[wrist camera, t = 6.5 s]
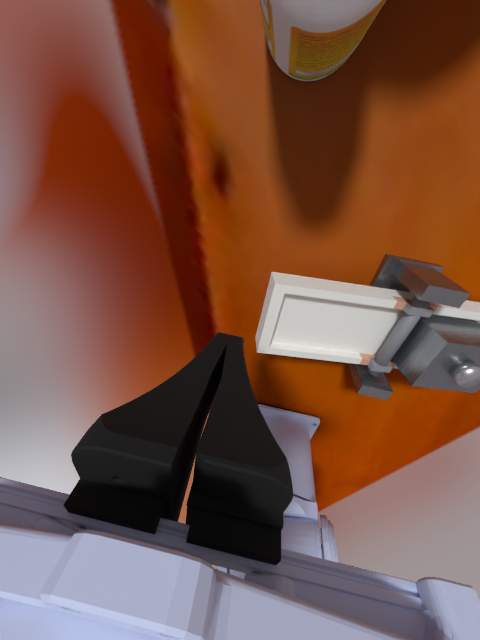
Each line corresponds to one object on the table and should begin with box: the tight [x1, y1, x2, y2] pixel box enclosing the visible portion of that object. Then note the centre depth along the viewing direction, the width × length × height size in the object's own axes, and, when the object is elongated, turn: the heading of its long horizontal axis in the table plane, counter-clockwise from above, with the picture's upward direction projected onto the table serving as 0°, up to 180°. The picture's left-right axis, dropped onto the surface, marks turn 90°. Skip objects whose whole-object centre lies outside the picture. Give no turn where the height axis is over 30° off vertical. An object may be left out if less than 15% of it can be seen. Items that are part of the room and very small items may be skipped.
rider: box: [392, 314, 480, 393], centre depth 17 cm, size 4×5×4 cm
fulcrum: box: [348, 254, 470, 400], centre depth 19 cm, size 10×4×5 cm, turn 171°
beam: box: [256, 272, 480, 377], centre depth 19 cm, size 7×20×2 cm, turn 81°
